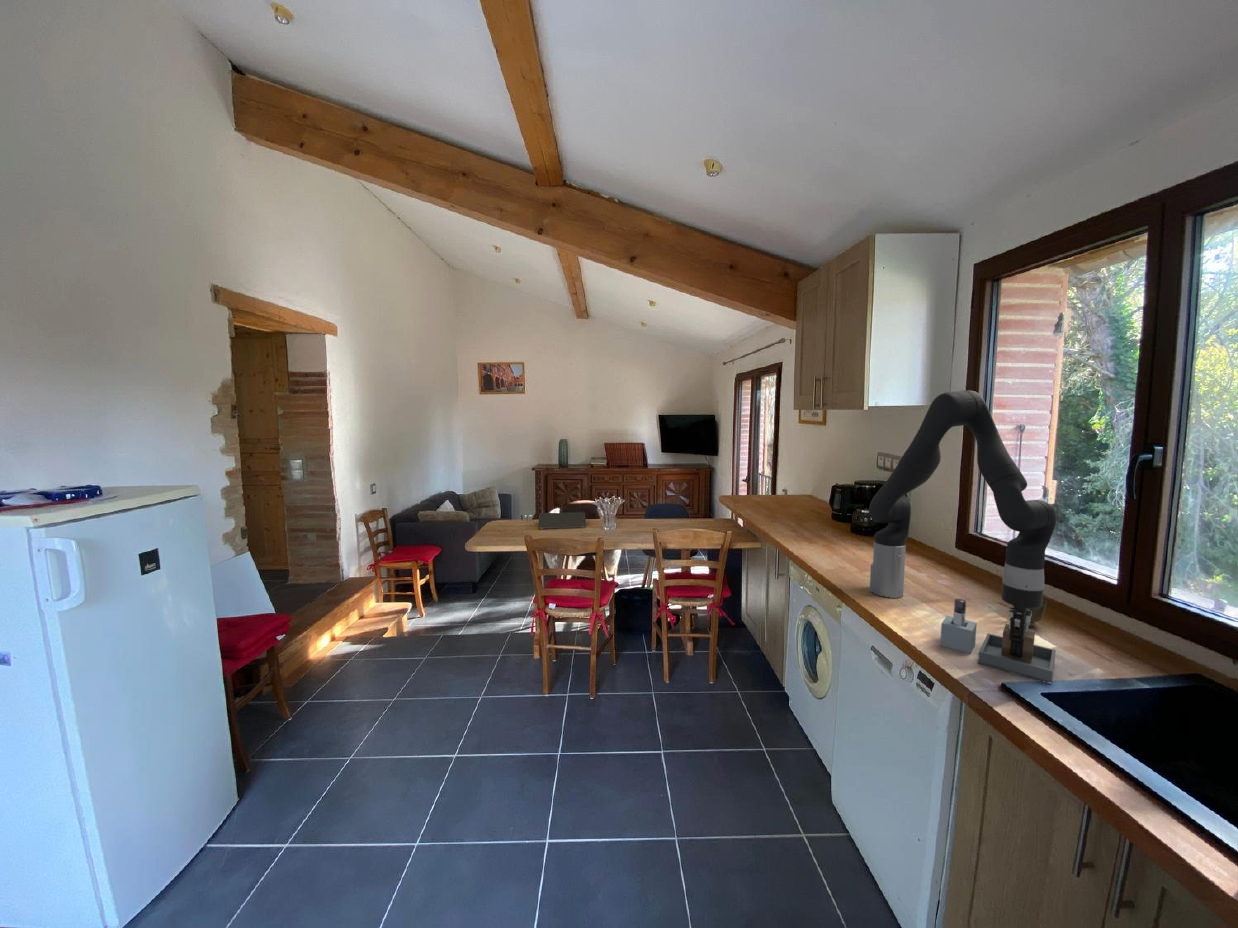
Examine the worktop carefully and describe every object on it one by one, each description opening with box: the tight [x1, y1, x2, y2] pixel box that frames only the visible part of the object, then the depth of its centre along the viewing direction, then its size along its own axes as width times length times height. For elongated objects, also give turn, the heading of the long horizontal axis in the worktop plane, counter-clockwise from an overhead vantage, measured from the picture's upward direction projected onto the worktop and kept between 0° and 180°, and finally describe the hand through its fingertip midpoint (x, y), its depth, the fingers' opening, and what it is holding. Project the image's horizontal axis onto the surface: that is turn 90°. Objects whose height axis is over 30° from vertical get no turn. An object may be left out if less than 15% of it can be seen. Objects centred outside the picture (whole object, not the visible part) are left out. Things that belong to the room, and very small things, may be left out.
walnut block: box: [1001, 623, 1036, 663], centre depth 117 cm, size 6×6×6 cm
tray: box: [978, 633, 1057, 683], centre depth 117 cm, size 13×13×3 cm
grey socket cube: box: [939, 615, 978, 655], centre depth 126 cm, size 6×6×6 cm
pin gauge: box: [953, 598, 967, 627], centre depth 126 cm, size 2×2×12 cm
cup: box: [1012, 599, 1048, 628], centre depth 137 cm, size 8×7×8 cm
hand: (1017, 651), depth 117 cm, fingers closed on walnut block, 5 cm apart
